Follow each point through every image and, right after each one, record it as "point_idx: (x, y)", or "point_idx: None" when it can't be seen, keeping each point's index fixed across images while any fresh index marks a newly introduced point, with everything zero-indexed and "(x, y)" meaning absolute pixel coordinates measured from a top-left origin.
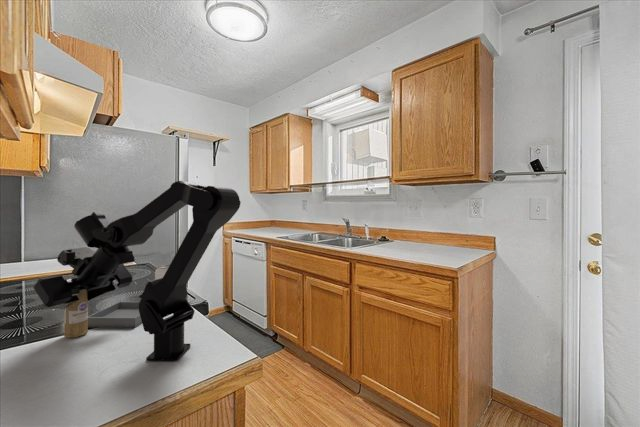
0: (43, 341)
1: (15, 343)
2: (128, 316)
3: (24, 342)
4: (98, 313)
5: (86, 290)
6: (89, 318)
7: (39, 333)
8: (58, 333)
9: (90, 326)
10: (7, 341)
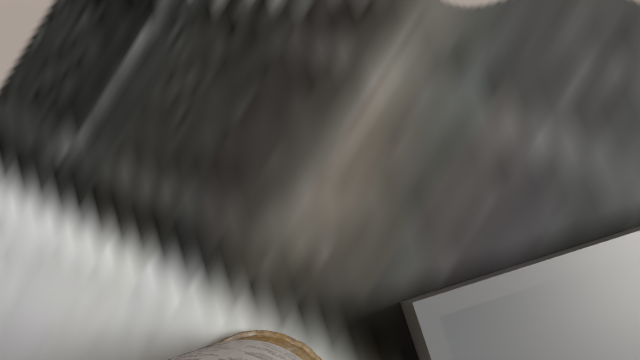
0: (108, 274)
1: (36, 116)
2: None
3: (63, 157)
4: (570, 274)
5: None
6: (427, 354)
7: (204, 79)
8: (246, 219)
9: (419, 353)
10: (48, 26)
